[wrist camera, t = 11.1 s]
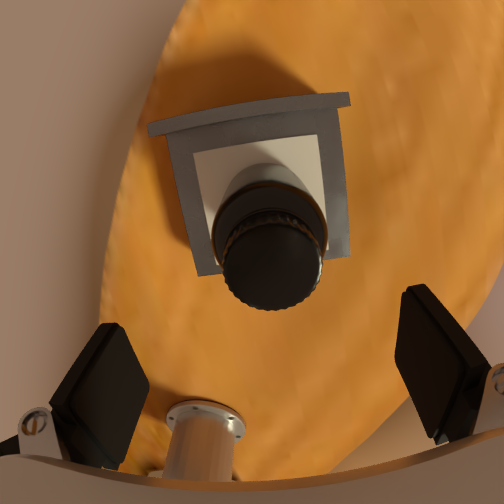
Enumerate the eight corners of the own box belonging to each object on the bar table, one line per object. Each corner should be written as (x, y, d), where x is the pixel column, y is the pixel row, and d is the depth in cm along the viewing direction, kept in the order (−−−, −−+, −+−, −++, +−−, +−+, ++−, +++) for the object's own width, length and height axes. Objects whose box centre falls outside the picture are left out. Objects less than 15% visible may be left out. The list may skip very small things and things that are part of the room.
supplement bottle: (228, 243, 27) (206, 329, 16) (221, 164, 24) (187, 200, 13) (308, 239, 27) (338, 324, 16) (307, 160, 24) (346, 194, 13)
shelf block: (340, 240, 31) (362, 276, 24) (205, 258, 32) (189, 299, 25) (325, 100, 25) (348, 91, 18) (176, 123, 27) (146, 124, 19)
